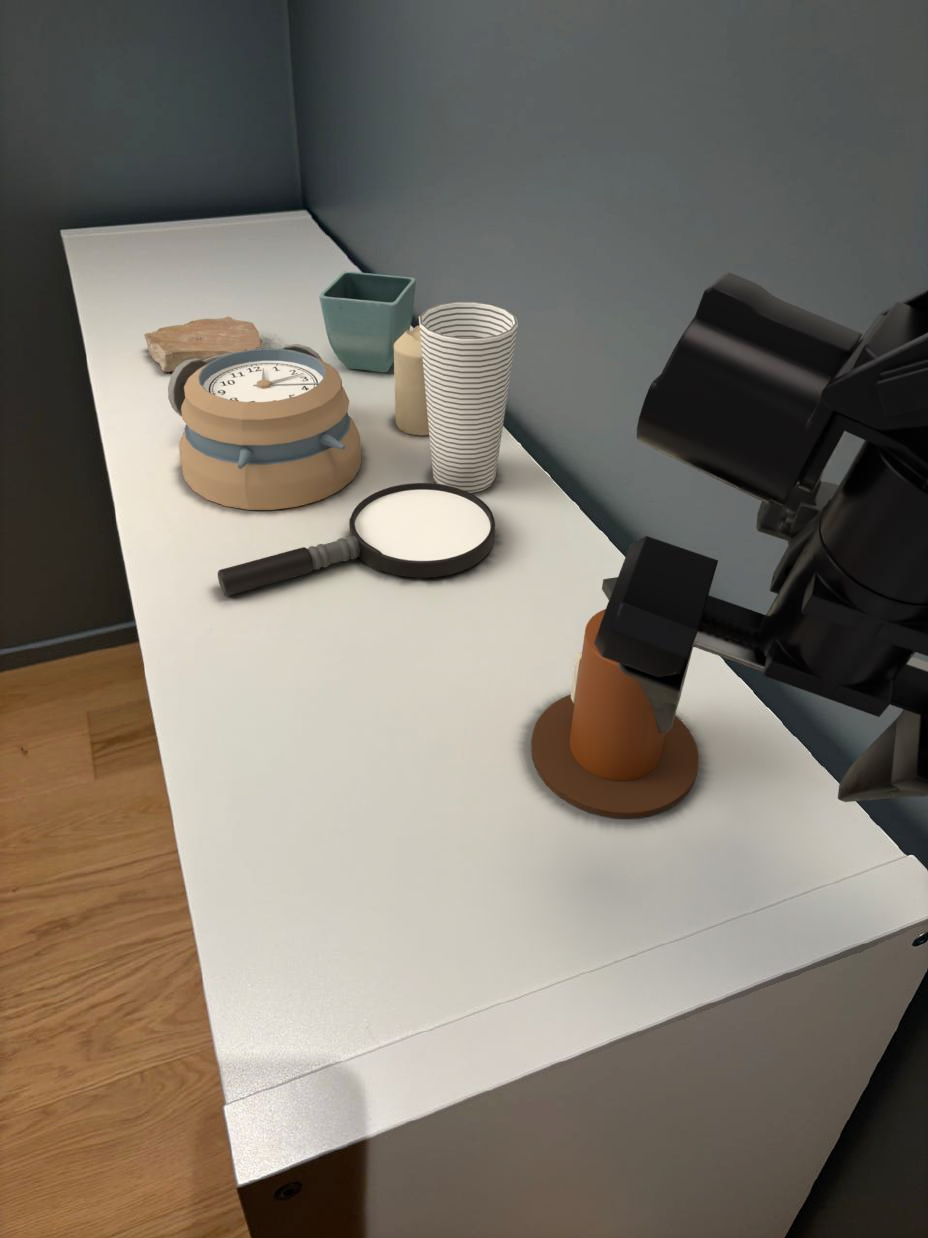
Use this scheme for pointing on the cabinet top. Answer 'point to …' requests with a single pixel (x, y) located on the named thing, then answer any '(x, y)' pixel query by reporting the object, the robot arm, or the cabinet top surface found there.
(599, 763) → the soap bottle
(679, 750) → the coaster
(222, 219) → the cabinet top surface
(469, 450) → the cup
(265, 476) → the alarm clock
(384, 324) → the flower pot
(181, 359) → the stone
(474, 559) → the magnifying glass
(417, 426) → the candle
